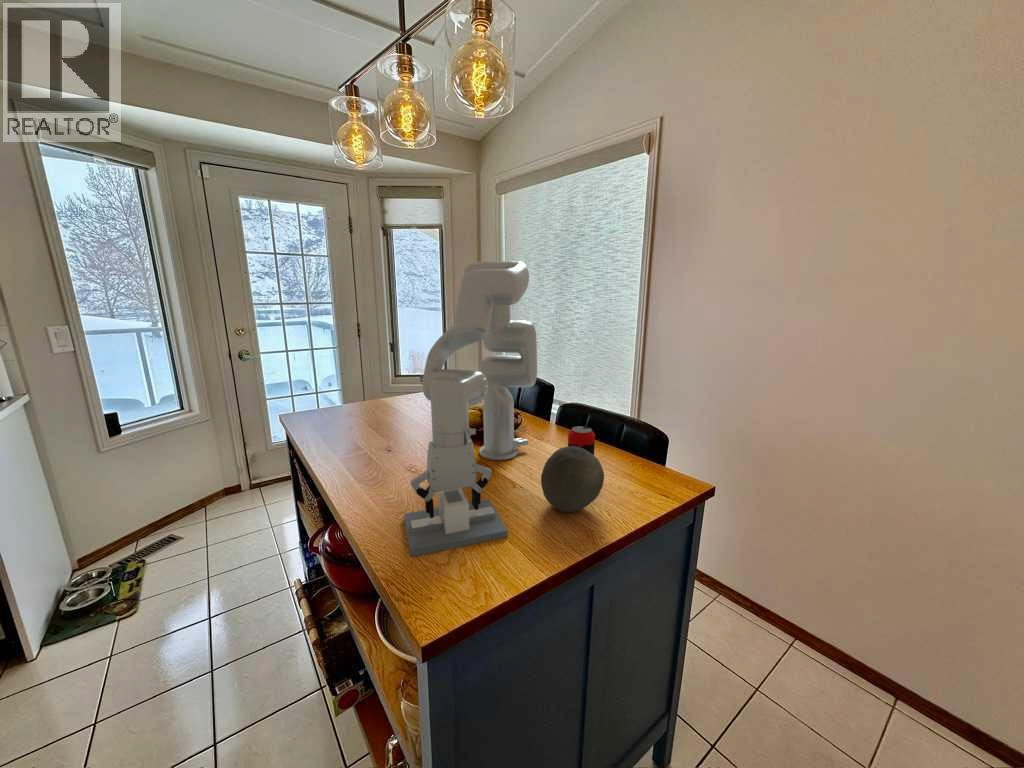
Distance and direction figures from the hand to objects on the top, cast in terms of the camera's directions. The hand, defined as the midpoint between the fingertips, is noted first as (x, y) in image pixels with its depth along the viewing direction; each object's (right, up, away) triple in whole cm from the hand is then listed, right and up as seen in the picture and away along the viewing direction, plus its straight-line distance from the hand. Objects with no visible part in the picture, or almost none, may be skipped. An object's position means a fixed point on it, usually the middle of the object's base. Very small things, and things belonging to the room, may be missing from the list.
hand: (453, 510), depth 87 cm
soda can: (+33, +3, +31) cm, 45 cm away
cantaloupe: (+27, -2, +9) cm, 28 cm away
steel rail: (0, -3, +1) cm, 3 cm away
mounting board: (0, -4, +1) cm, 4 cm away
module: (0, -3, +1) cm, 3 cm away
